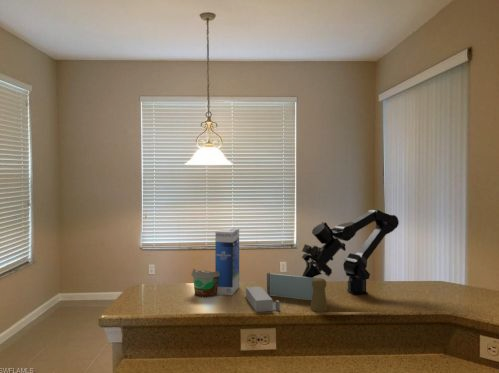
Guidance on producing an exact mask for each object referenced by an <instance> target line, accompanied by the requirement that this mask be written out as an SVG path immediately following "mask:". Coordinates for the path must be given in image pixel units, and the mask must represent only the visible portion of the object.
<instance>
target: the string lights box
mask: <svg viewBox="0 0 499 373" xmlns="http://www.w3.org/2000/svg"><path fill="white" fill-rule="evenodd" d="M214 232H215V238H214V239H215V241H214V242H215V246H214V247H215V249H214V250H215V254H214V255H215V258H214V260H215V261H214V262H215V263H214V264H215V268H214V269H215V271H214V272H216V271H219V273H220V276H218V287H217V296H218V295H220V296H233V295H234V294H235V293H236V291H237V290H238V289H239V288H240V228H237V227H236V228H235V227H231V228H230V227H222V228H221V229H219V230H216V231H214Z"/></svg>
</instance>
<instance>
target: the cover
mask: <svg viewBox="0 0 499 373" xmlns="http://www.w3.org/2000/svg"><path fill="white" fill-rule="evenodd" d="M315 278H316V277H303V276H299V275H290V274H281V273H271V272H270V296H274V297H281V298H282V297H283V298H291V299H292V298H293V299H297V300H298V299H299V300H300V299H301V300H309V301H312V293H313V287H312V280H313V279H315Z"/></svg>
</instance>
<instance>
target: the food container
mask: <svg viewBox="0 0 499 373" xmlns="http://www.w3.org/2000/svg"><path fill="white" fill-rule="evenodd" d="M218 276H220V273H219V271H216V272H215V271H210V270H196V269H195V268H193V269H192V272H191V277H192V278H193V289H194V296H196V297H198V298H212V297H215V296H218V294H217V287H218Z"/></svg>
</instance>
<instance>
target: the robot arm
mask: <svg viewBox="0 0 499 373" xmlns="http://www.w3.org/2000/svg"><path fill="white" fill-rule="evenodd" d="M373 222H375V227H374V230H373V231H372V232H371V233H370V235H369V236H368V238H367V239H366V240H365V241H364V243H363V244H362V245H361V247H360V248H359V250H358V251H357V252H356V253H352V252H350V253H349V254H348V255H347V257H346V258H345V259H344V262H343V265H342V266H343V270H344V272H345V275H346V277H348V280H347V290H346V291H347V292H349V293H351V294H352V295H366V294H367V295H368V294H369V292H368V291H367V280H369V279H370V276H371V274H370V272H369V271H368V270H367V269H366V268H367V267H368V259H369V258H370V257H371V256H372V254H373V253H374V251H375V250H376V249H377V247H378V246H379V244H380V243H381V241H382V240H383V239H384V238H385V237H386V235H388V234H390V233H393V232H394V231H395V230H396V229H397V228H398V227H399V225H400V224H399V223H400V220H399V219H398V216H396V215H395V214H388V213H386V212H384V211H381V210H379V209H369V210H368V211H367V212H364V213H363V214H362V215H360V216H358V217H357V218H354V219H353V220H351V221H349V222H344V223H340V224H338V225H335V226H334V227H333V228H331V227H330V226H329V225H328V223H327V222H325V221H322V222H321V223H320V224H317V225H316V226H314V227H313V229H312V230H311V234H312V235H313V236H314V238H316V239H317V240H318V242H319V243H320V244H323V246H321V247H320V246H317V245H315V244H313V245H312V246H311V245H309V244H306V243H305V244H304V245H303V248H302V250H301V252H303V253H304V254H303V255H302V256H301V258H302V259H303V260H304V261H305V264H306V266H305V269H304V271H303V274H302V276H303V277H313V278H315V277H317V276H319V275H320V276H321V275H322V272H324V273H323V274H324V275H325V276H326V277H330V276H331V274H332V273H333V272H332V271H333V269H332V268H330V266H329V265H328V263H329V262H330V261H334V257H335V255H336V254H337V253H338V252H339V251H340V250H341V251H344V252H346V250H347V249H346V243H344V242H341V241H345V242H348V241H349V242H350V240H352V239H353V238H354V237H355V236H356V234H357V232H359V231H360V230H361V229H363V228H365V227H367V226H368V225H371V223H373Z"/></svg>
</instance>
